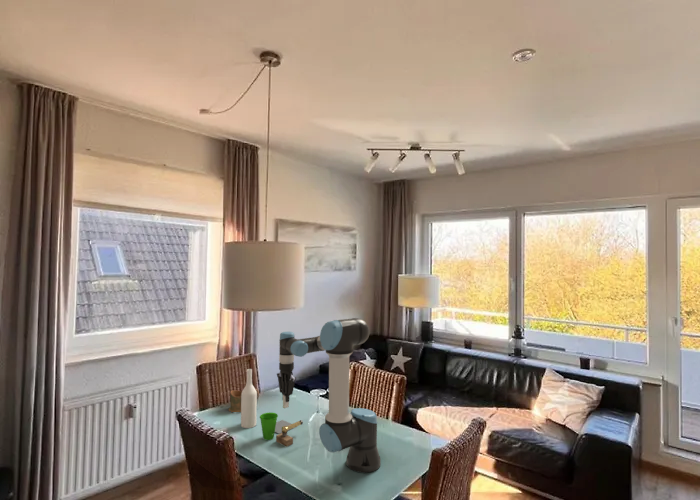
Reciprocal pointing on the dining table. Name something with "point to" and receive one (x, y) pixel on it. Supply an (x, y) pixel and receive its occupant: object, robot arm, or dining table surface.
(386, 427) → the dining table surface
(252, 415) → the bottle
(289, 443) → the brown wooden block
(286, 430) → the lever
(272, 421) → the cup
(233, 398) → the mug
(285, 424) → the felt pad
